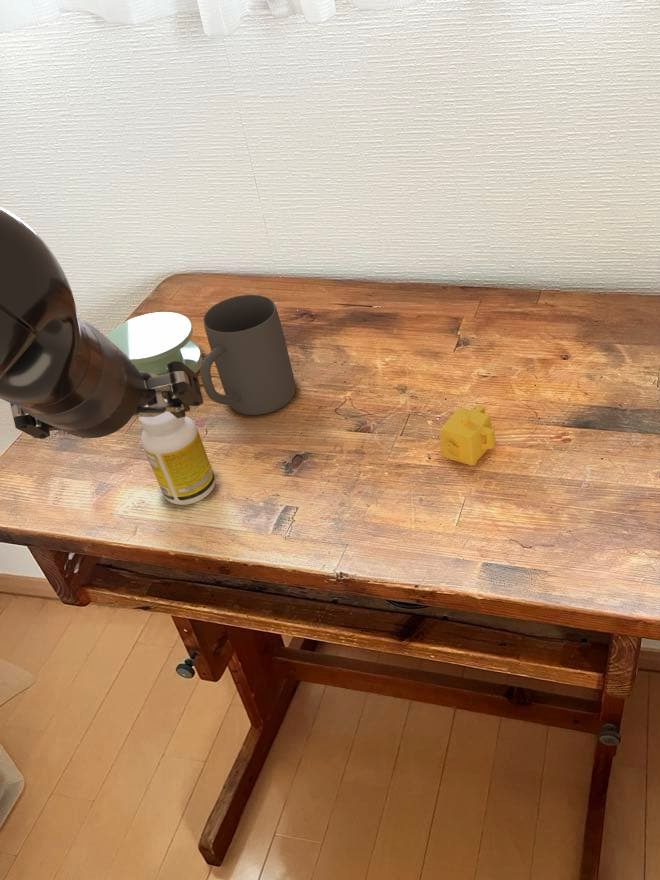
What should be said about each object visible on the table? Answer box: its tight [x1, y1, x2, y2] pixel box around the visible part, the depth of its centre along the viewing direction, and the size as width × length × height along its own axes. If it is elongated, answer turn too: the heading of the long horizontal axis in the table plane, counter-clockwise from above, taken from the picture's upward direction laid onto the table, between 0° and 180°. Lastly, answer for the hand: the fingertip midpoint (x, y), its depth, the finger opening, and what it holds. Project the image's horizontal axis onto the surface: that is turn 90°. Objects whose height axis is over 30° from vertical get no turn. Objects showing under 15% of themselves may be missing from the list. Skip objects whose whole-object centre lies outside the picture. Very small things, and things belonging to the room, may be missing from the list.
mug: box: [199, 294, 296, 416], centre depth 103 cm, size 14×9×12 cm
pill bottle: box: [138, 398, 216, 506], centre depth 93 cm, size 6×6×11 cm
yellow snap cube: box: [439, 405, 497, 467], centre depth 93 cm, size 8×6×5 cm
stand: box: [106, 311, 204, 392], centre depth 114 cm, size 12×12×5 cm
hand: (132, 416), depth 75 cm, fingers open, 8 cm apart
